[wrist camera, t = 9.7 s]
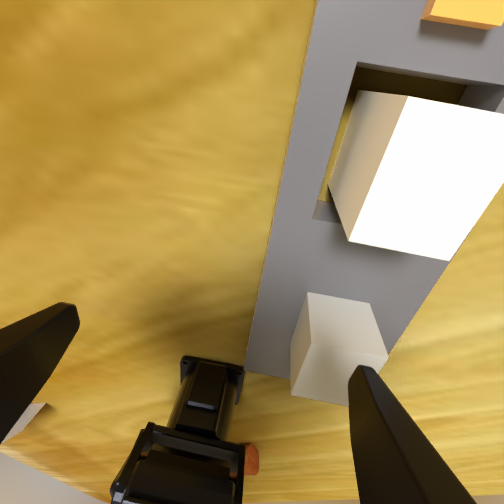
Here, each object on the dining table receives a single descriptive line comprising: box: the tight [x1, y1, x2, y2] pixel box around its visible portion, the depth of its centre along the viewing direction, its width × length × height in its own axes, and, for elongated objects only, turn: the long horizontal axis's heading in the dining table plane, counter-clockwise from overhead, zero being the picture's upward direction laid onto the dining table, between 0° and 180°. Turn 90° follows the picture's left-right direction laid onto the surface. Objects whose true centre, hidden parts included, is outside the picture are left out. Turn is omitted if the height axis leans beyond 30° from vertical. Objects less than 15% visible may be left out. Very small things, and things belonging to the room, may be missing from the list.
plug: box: [328, 90, 504, 261], centre depth 12 cm, size 5×4×7 cm
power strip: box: [243, 0, 504, 407], centre depth 15 cm, size 26×10×7 cm, turn 172°
